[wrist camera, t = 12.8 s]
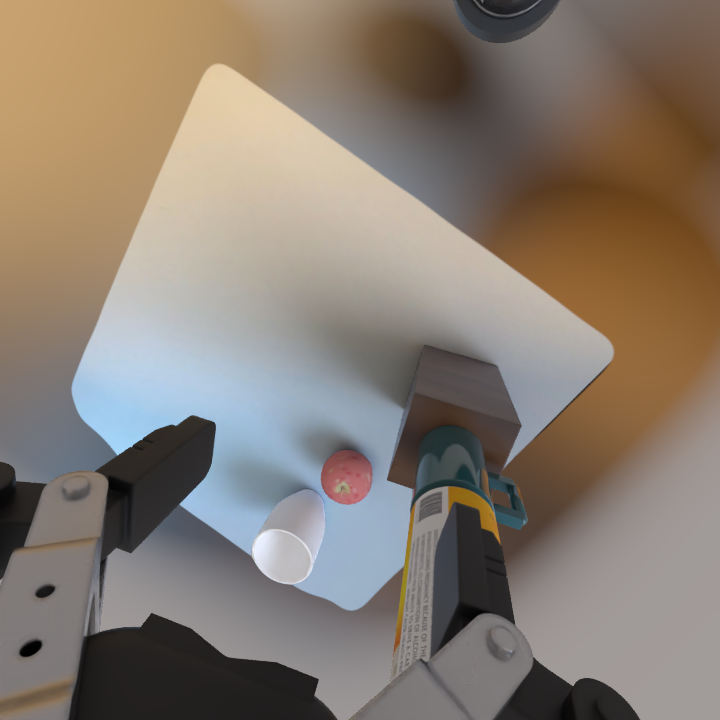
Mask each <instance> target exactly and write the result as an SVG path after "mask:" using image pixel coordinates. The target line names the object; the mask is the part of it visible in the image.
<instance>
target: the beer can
mask: <svg viewBox="0 0 720 720" xmlns="http://www.w3.org/2000/svg"><path fill="white" fill-rule="evenodd" d="M454 502H458V503H461V504H464V505H467V506H470V507H473V508H476V509H479V511H480V519H481V528H483V529H486V530H489V531H492V532H493V533H494V535H495V536H496V538H497V540H498V541H499V543H500V539H499V534H498V528H497V523H496V518H495V515H494V512H493V510H492V508H491V507H490V505H489V504H488V503H487V502H486V501H485V500H484V499H483V498H482V497H480V496H479V495H478V494H476V493H474V492H472V491H470V490H467V489H464V488H460V487H454V486H446V487H439V488H435V489H432V490H430V491H428V492H426V493H425V494H423V495H422V496H421V497H420V498H419V499H418V500H417V501H416V502H415V504H414V506H413V508H412V511H411V516H410V524H409V532H408V540H407V548H406V557H405V565H404V573H403V581H402V589H401V597H400V605H399V613H398V621H397V629H396V637H395V645H394V653H393V661H392V669H391V677H390V683H391V682H392V681H393V680H394V679H395V678H396V677H397V676H399V675H400V674H401V673H402V672H403V671H404V670H405V669H407V668H408V667H409V666H410V665H411V664H412V663H413V662H415V661H416V660H418V659H421V658H422V659H423V660H424V661H425V662H427V661H429V660H430V655H431V630H432V606H433V581H434V559H435V552H436V548H437V544H438V540H439V538H440V535H441V532H442V530H443V527H444V525H445V522H446V519H447V517H448V514H449V512H450V509H451V506H452V504H453V503H454Z"/></svg>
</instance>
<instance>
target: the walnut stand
mask: <svg viewBox="0 0 720 720" xmlns="http://www.w3.org/2000/svg"><path fill="white" fill-rule="evenodd" d="M446 425H453V426H459V427H462V428H465V429H467V430H469V431H470V432H472V433H473V434H474V435H475V436H476V437H477V438H478V439H479V441H480V442H481V444H482V446H483V450H484V455H485V460H486V466H487V471H489V472H492V473H495V474H498V475H501V473H502V470H503V468H504V466H505V463H506V461H507V459H508V456H509V454H510V452H511V449H512V447H513V445H514V442H515V440H516V438H517V435H518V433H519V431H520V429H521V426H522V425H521V423H520V421H519V418H518V416H517V413H516V411H515V408H514V406H513V403H512V401H511V398H510V396H509V394H508V391H507V389H506V386H505V384H504V381H503V379H502V376H501V374H500V371H499V369H498V367H497V366H495V365H492V364H488V363H485V362H481V361H478V360H475V359H471V358H468V357H464V356H461V355H458V354H454V353H451V352H447V351H444V350H441V349H437V348H434V347H430V346H427V345H424V347H423V350H422V353H421V357H420V360H419V363H418V366H417V369H416V372H415V376H414V379H413V382H412V385H411V388H410V392H409V395H408V398H407V401H406V404H405V407H404V411H403V415H402V419H401V424H400V428H399V432H398V436H397V440H396V444H395V448H394V453H393V457H392V461H391V465H390V469H389V473H388V478H387V480H388V481H391V482H394V483H397V484H400V485H403V486H406V487H409V488H412V489H413V485H414V477H415V469H416V461H417V453H418V447H419V444H420V441H421V440H422V438H423V437H424V436H425V435H426V434H427V433H428V432H429V431H431V430H433V429H435V428H437V427H440V426H446ZM493 491H494V489H493V488H491V493H493Z"/></svg>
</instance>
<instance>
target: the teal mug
mask: <svg viewBox="0 0 720 720" xmlns="http://www.w3.org/2000/svg"><path fill="white" fill-rule="evenodd" d="M446 486H454V487H460V488H464V489H467V490H470V491H472V492H474V493H476V494H478V495H479V496H480V497H482V498H483V499H484V500H485V501H486V502H487V503H488V504H489V505H490V507H491V508H492V510H493V512H494V515H495V518H496V522H498V523H501V524H504V525H507V526H510V527H513V528H516V529H518V530H520V529H521V527H522V525H525V524H526V523H527V521H528V518H527V515H526V511H525V508H524V505H523V501H522V498H521V495H520V491H519V488H518V486H517V485H516V484H514V481H513V479H510V478H507V477H504V476H501V475H498V474H495V473H492V472H489V471H487V466H486V460H485V455H484V450H483V446H482V444H481V442H480V441H479V439H478V438H477V437H476V436H475V435H474V434H473V433H472V432H470V431H469V430H467V429H465V428H462V427H459V426H453V425H446V426H440V427H437V428H435V429H433V430H431V431H429V432H428V433H427V434H426V435H425V436H424V437H423V438H422V440H421V441H420V444H419V447H418V453H417V461H416V469H415V477H414V485H413V492H412V500H411V508H410V514H411V511H412V508H413V506H414V504H415V502H416V501H417V500H418V499H419V498H420V497H421V496H422V495H423V494H425V493H426V492H428V491H430V490H432V489H435V488H439V487H446ZM491 488H493V489H496V490H499V491H502V492H505V493H508V496H509V500H510V504H511V508H512V509H510V508H508V507H504V506H502V505H499V504H495V503H493V499H492V493H491Z"/></svg>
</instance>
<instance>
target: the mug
mask: <svg viewBox="0 0 720 720" xmlns="http://www.w3.org/2000/svg"><path fill="white" fill-rule="evenodd" d="M324 532H325V512H324V503H323V500H322V498H321V497H320V495H319V494H318V493H316V492H315V491H313V490H309V489H304V490H301V491H299V492H297V493H295V494H293V495H290V496H288V497H286V498H285V499H283V500H282V501H280V502H279V503H278V504H277V505H276V506H275V508H274V509H273V510H272V512H271V513H270V515H269V516H268V518H267V520H266V521H265V523H264V525H263V526H262V528H261V530H260V531H259V533H258V535H257V536H256V538H255V540H254V542H253V545H252V551H251V555H252V558H253V559H254V561H255V563H256V565H257V566H258V568H259V569H260V570H261V571H262V572H263V573H264V574H265V575H266V576H267V577H269V578H270V579H272V580H274V581H276V582H279V583H283V584H296V583H299V582H302V581H303V580H305V579H306V578H307V577H308V576H309V575H310V573H311V571H312V568H313V565H314V562H315V560H316V557H317V554H318V551H319V549H320V546H321V543H322V540H323V536H324Z"/></svg>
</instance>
